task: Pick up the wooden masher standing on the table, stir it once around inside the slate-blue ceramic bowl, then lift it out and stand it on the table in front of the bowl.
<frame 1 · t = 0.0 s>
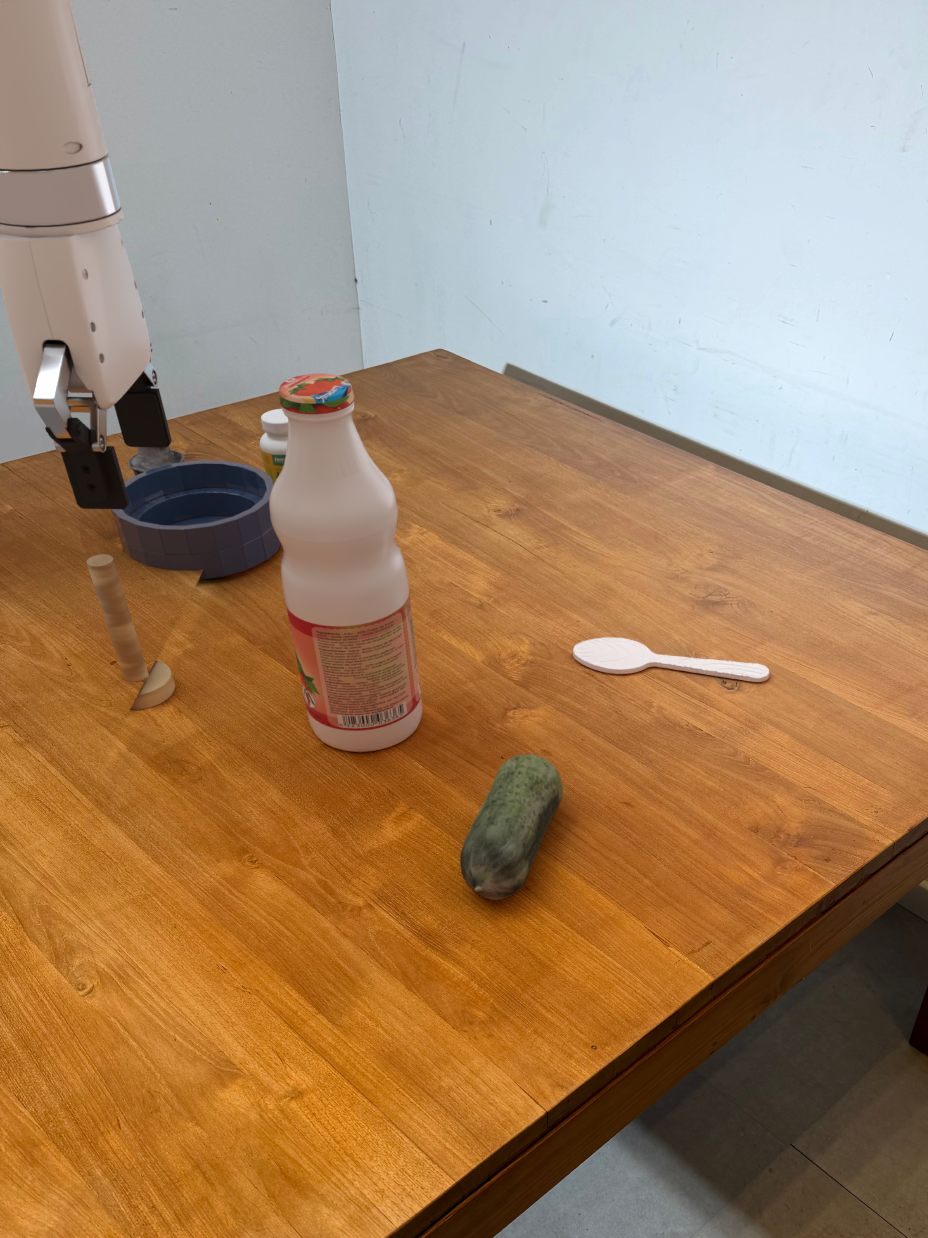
hand: (128, 474, 77), 23 cm above the table, tool pointing down, fingers open, 9 cm apart
bowl: (206, 547, 116), on the table
wooden masher: (141, 691, 97), on the table
vegetable: (511, 852, 83), on the table
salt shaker: (164, 492, 126), on the table
fruit juice: (367, 723, 95), on the table
supplement bottle: (296, 503, 125), on the table
spoon: (670, 665, 102), on the table
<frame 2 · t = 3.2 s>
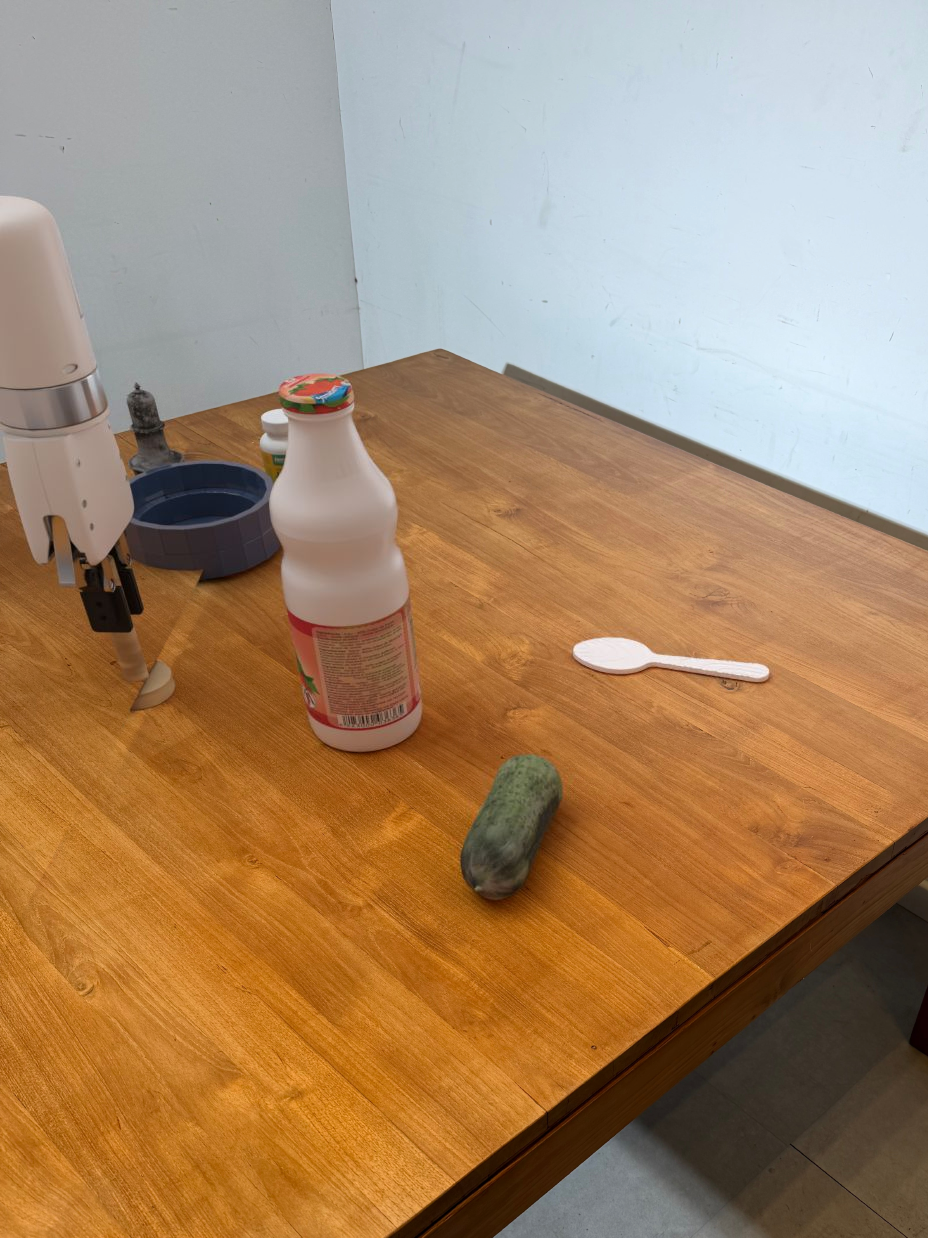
hand: (118, 620, 92), 7 cm above the table, tool pointing down, fingers closed on wooden masher
wooden masher: (141, 691, 97), on the table, touching gripper
everything else where it was.
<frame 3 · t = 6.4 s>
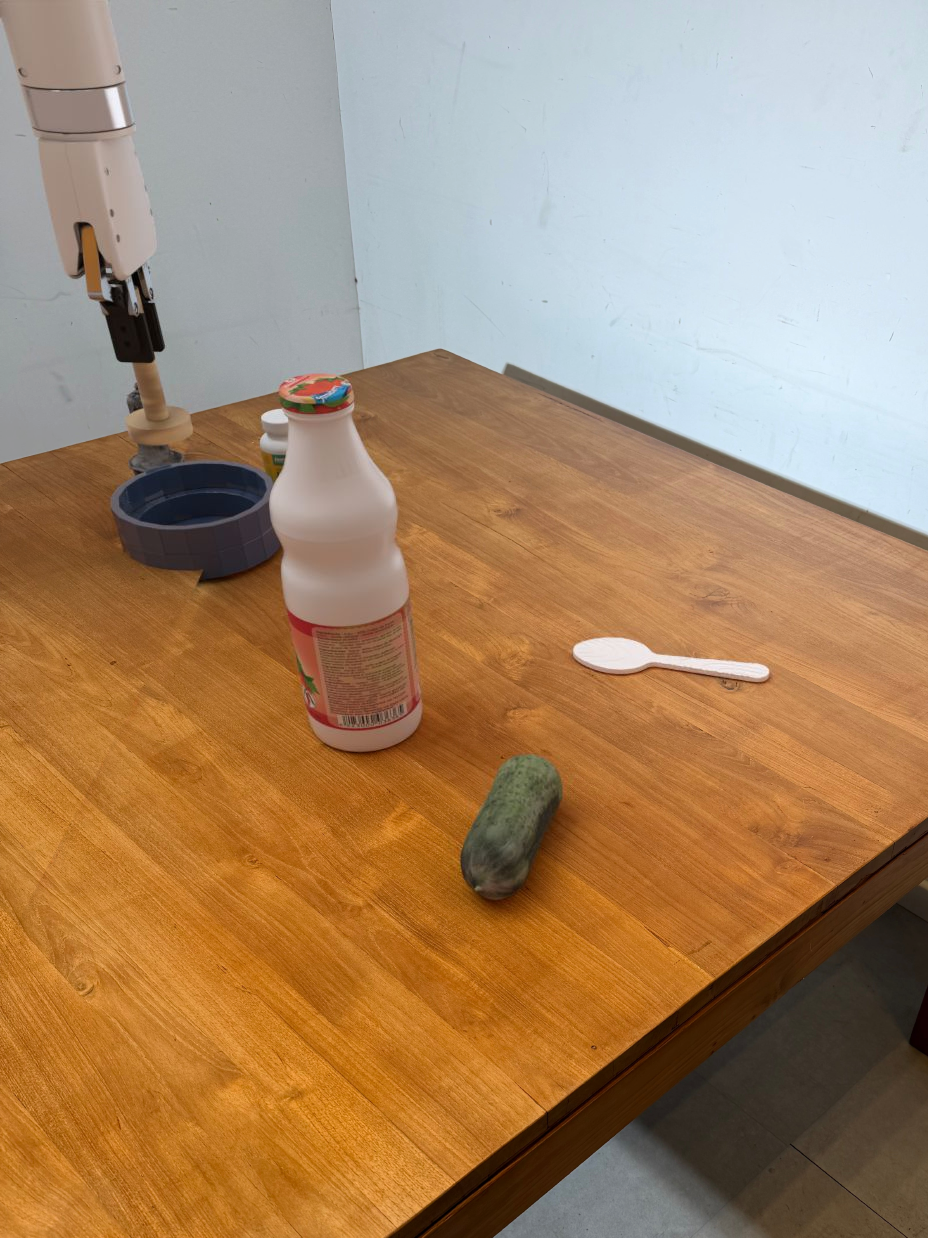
hand: (141, 354, 99), 21 cm above the table, tool pointing down, fingers closed on wooden masher
wooden masher: (161, 433, 103), point 14 cm above the table, touching gripper
everything else where it was.
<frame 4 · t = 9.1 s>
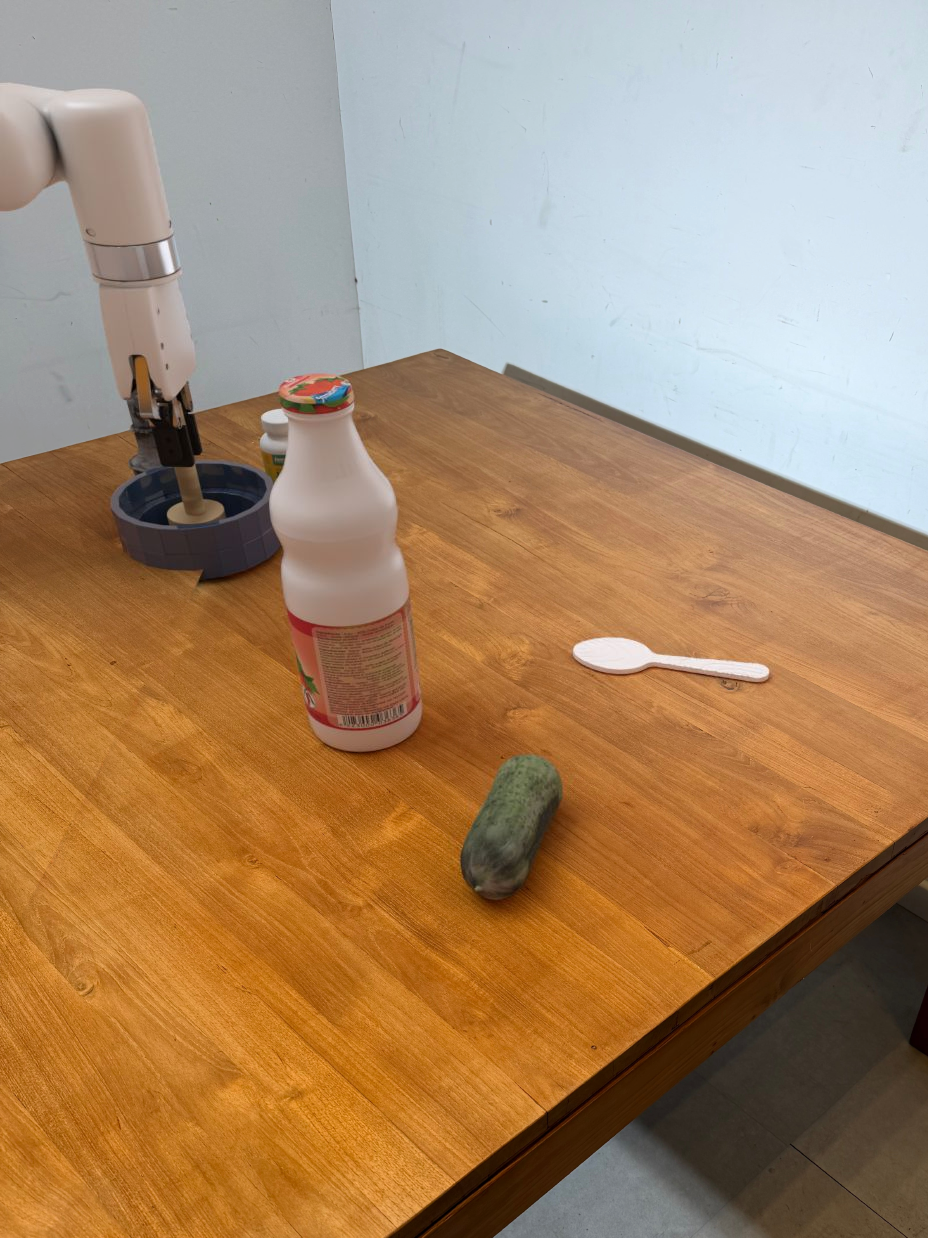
hand: (182, 458, 111), 9 cm above the table, tool pointing down, fingers closed on wooden masher
wooden masher: (198, 524, 116), point 2 cm above the table, touching gripper
everything else where it was.
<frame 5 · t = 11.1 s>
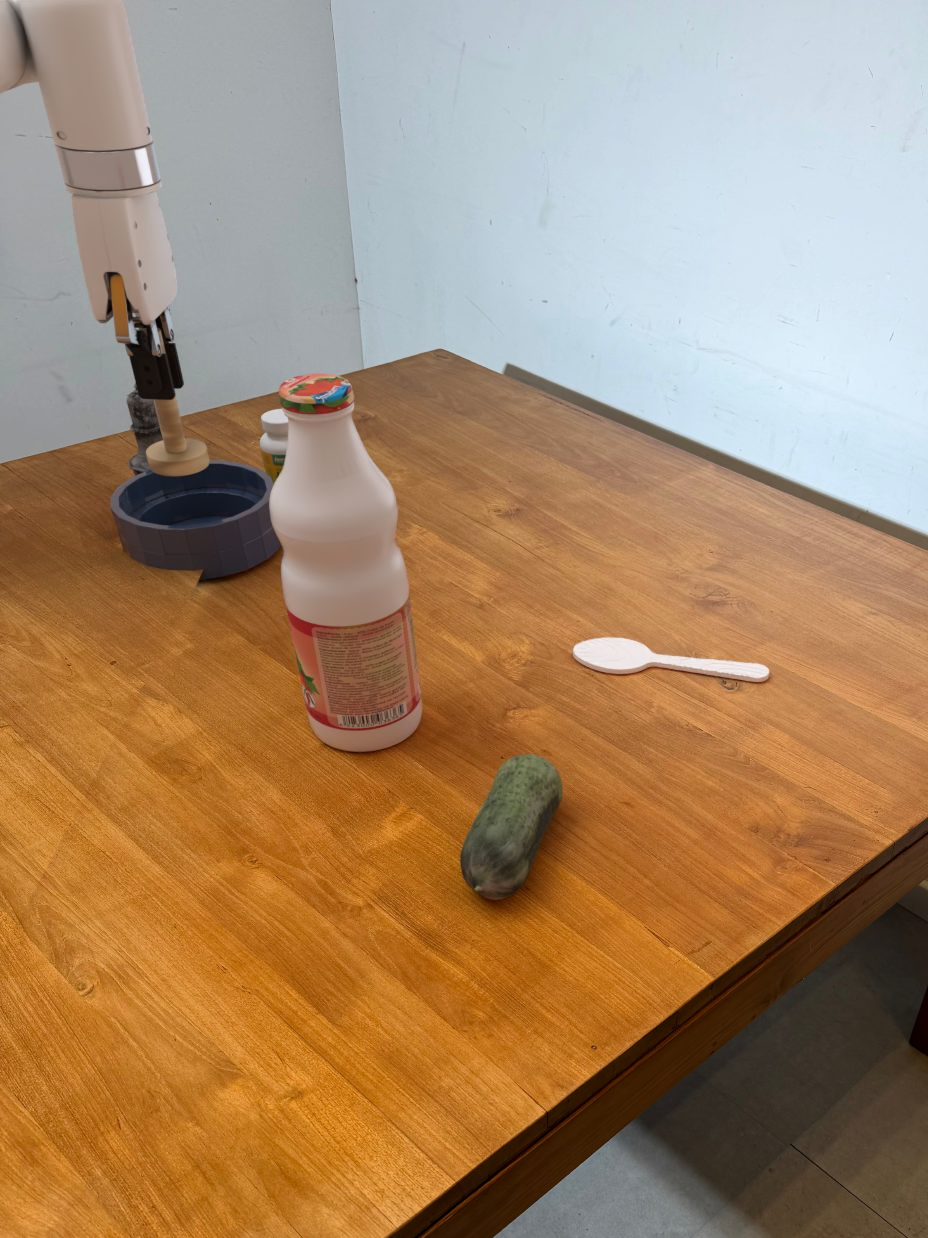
hand: (162, 391, 105), 16 cm above the table, tool pointing down, fingers closed on wooden masher
wooden masher: (179, 464, 109), point 9 cm above the table, touching gripper
everything else where it was.
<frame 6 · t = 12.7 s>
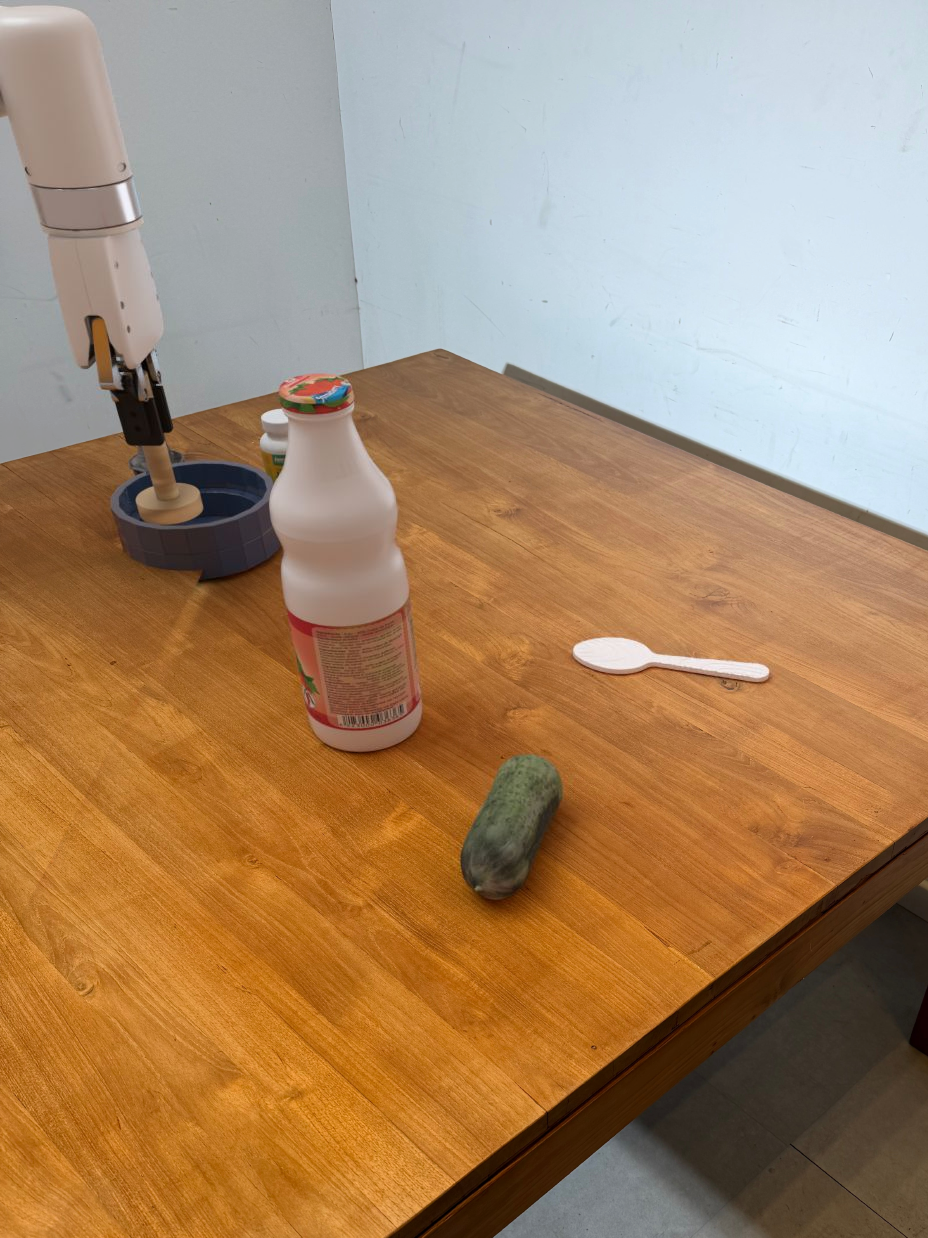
hand: (150, 436, 99), 16 cm above the table, tool pointing down, fingers closed on wooden masher
wooden masher: (171, 511, 104), point 8 cm above the table, touching gripper
everything else where it was.
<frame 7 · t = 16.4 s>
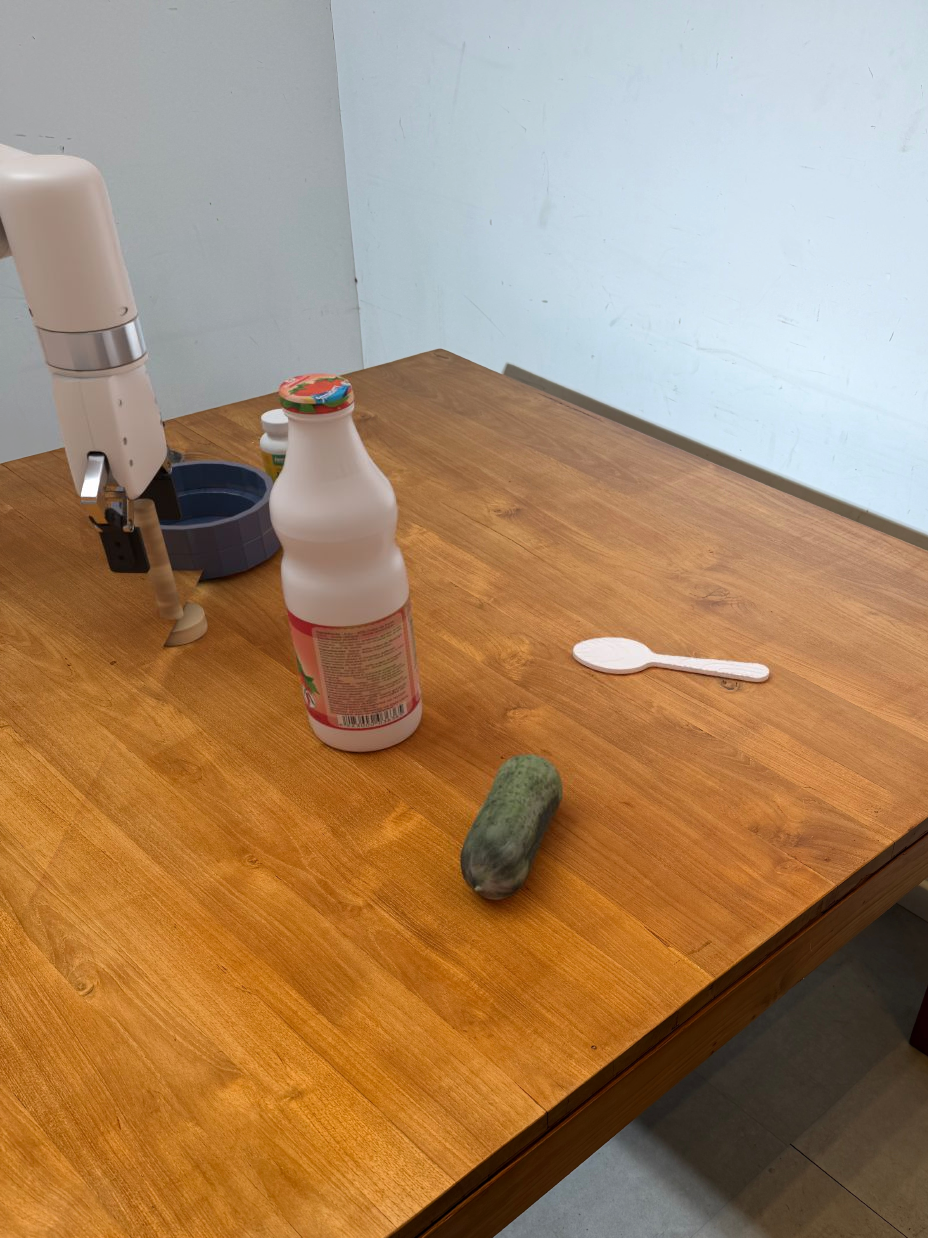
hand: (148, 544, 99), 9 cm above the table, tool pointing down, fingers open, 9 cm apart
wooden masher: (176, 630, 104), on the table
everything else where it was.
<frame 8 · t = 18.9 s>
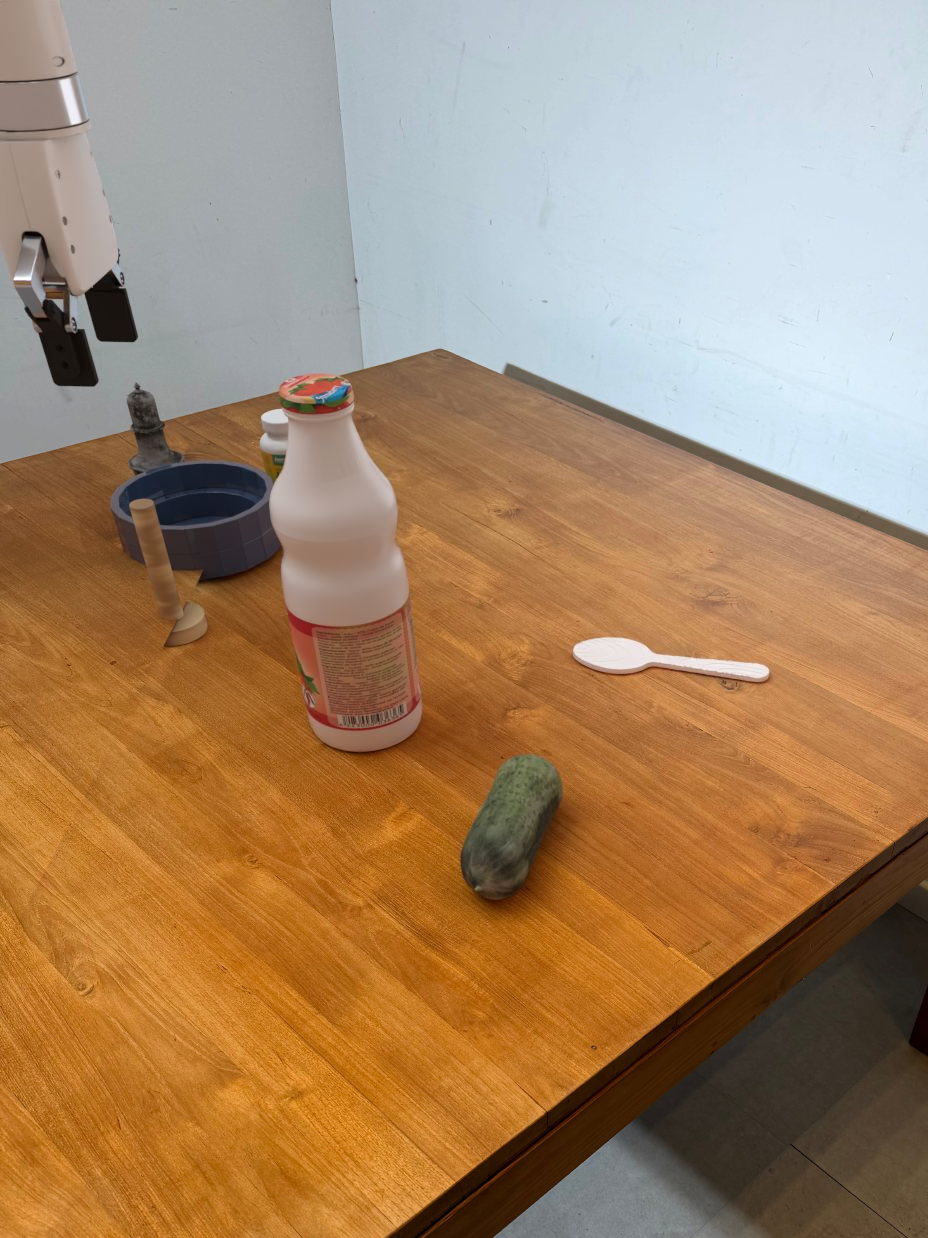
hand: (98, 362, 88), 24 cm above the table, tool pointing down, fingers open, 9 cm apart
nothing on the table moved.
at the end: wooden masher inside the target area (0.3 cm from its centre), on the table; wooden masher tilted 0°; wooden masher touching table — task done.
